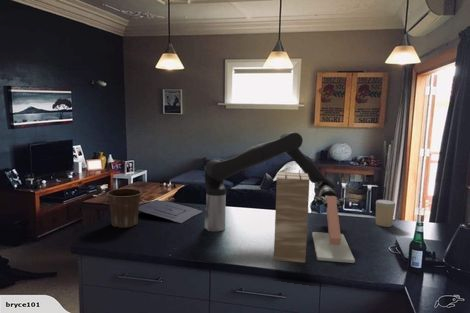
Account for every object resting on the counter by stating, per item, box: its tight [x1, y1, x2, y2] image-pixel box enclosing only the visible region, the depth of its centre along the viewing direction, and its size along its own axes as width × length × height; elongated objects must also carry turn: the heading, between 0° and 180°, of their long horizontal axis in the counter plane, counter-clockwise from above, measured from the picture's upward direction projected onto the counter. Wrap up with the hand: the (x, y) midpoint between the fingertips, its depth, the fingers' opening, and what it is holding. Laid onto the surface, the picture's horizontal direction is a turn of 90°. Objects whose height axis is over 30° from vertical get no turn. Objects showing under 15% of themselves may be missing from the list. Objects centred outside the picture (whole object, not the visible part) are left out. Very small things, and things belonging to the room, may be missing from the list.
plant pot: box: [106, 188, 143, 229], centre depth 178 cm, size 16×16×16 cm
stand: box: [273, 169, 311, 264], centre depth 145 cm, size 14×12×33 cm
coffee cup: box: [375, 199, 396, 228], centre depth 188 cm, size 9×9×12 cm
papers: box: [138, 199, 204, 224], centre depth 199 cm, size 24×30×4 cm
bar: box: [325, 195, 342, 245], centre depth 155 cm, size 24×4×4 cm
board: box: [311, 231, 356, 264], centre depth 155 cm, size 30×14×1 cm, turn 172°
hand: (332, 205), depth 160 cm, fingers closed on bar, 4 cm apart
